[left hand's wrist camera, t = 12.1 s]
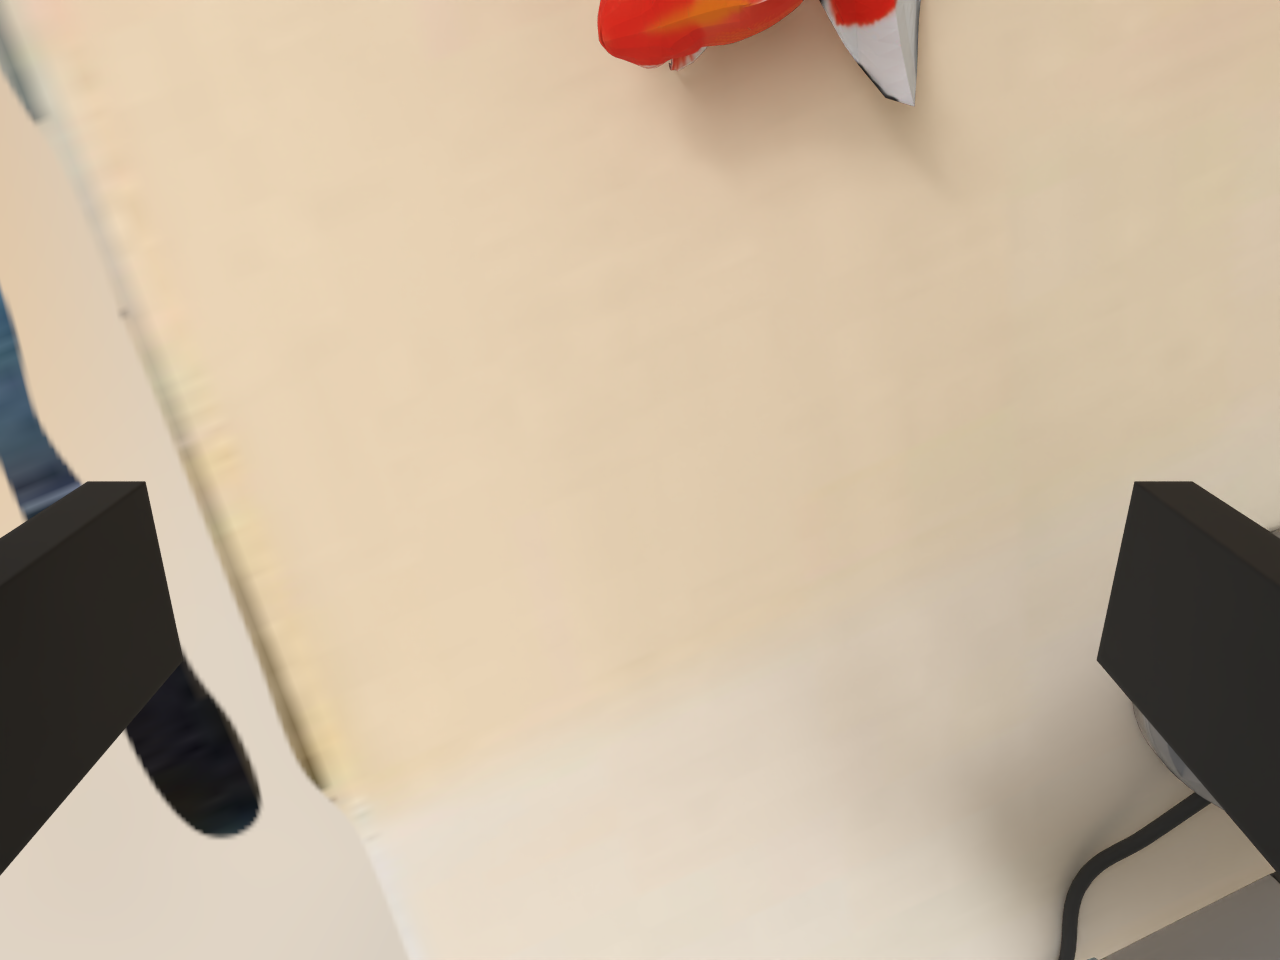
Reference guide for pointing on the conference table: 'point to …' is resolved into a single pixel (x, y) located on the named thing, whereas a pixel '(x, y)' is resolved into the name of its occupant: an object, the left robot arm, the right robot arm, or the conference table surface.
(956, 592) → the conference table surface
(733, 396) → the conference table surface
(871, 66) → the fish
